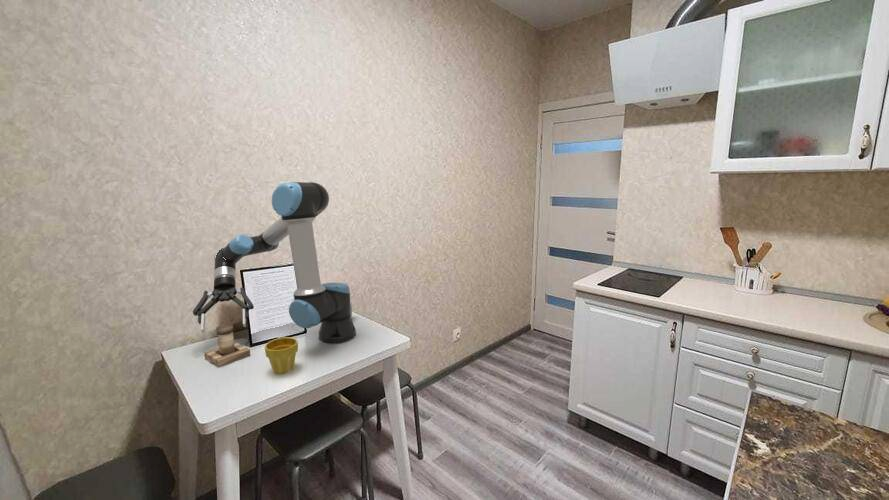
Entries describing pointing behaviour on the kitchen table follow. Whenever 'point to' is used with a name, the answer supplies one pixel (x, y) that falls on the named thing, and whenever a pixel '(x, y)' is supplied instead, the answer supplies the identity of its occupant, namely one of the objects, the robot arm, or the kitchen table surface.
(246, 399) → the kitchen table surface
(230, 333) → the mill
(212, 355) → the pocket block
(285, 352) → the plant pot
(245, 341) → the coaster
